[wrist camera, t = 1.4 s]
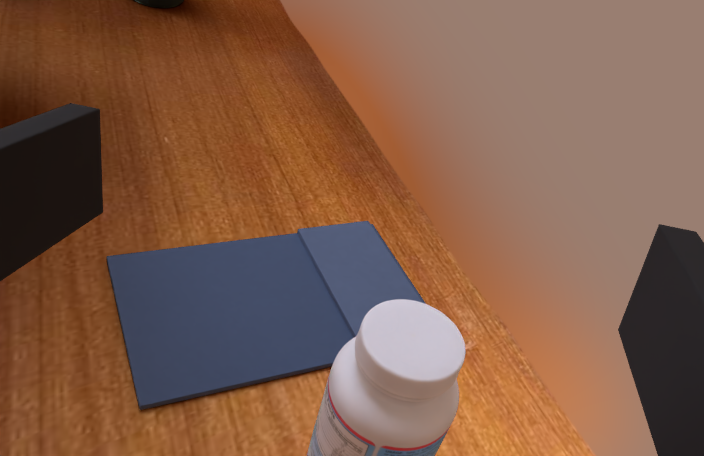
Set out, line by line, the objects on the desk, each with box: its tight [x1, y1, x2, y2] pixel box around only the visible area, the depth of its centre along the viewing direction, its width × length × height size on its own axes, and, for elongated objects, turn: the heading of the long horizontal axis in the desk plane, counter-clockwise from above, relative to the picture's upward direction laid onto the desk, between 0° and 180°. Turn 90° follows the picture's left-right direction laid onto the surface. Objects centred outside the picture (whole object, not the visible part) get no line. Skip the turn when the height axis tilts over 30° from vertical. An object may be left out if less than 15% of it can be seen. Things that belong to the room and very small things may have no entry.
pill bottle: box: [307, 299, 466, 456], centre depth 30 cm, size 6×6×11 cm
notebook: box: [107, 221, 426, 410], centre depth 42 cm, size 12×20×1 cm, turn 114°
